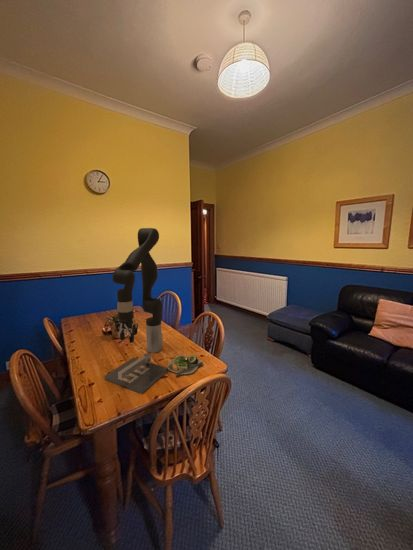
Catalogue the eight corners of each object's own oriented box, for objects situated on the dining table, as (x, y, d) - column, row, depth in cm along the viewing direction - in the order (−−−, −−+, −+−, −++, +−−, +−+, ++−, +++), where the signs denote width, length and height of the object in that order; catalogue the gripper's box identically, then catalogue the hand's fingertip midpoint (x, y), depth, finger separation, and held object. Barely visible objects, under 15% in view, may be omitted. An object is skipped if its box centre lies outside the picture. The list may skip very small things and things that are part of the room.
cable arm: (147, 357, 127) (146, 352, 126) (152, 359, 125) (152, 354, 125) (117, 377, 108) (117, 371, 108) (123, 379, 107) (122, 374, 106)
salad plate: (190, 382, 114) (190, 373, 113) (159, 373, 120) (159, 365, 120) (205, 363, 131) (205, 355, 130) (178, 356, 138) (178, 349, 137)
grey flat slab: (133, 360, 132) (133, 353, 132) (168, 371, 122) (167, 364, 121) (104, 379, 115) (104, 371, 114) (141, 394, 104) (141, 385, 103)
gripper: (141, 309, 115) (142, 341, 118) (120, 305, 122) (122, 335, 125) (130, 313, 109) (132, 347, 112) (109, 309, 115) (111, 341, 118)
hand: (127, 340), depth 118 cm, fingers open, 5 cm apart
